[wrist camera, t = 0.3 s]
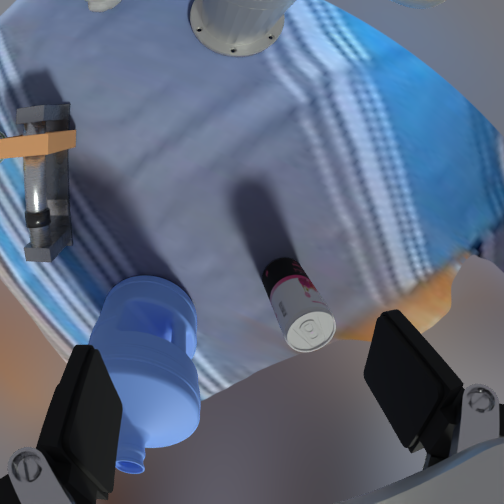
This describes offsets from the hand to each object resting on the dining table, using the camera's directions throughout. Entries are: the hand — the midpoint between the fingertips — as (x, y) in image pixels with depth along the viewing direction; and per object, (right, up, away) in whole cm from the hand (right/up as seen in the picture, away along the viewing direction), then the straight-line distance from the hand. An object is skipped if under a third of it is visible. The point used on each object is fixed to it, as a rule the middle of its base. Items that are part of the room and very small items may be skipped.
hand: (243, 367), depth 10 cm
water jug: (-16, -6, +40) cm, 43 cm away
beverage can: (+5, 0, +40) cm, 41 cm away
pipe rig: (-29, +15, +28) cm, 43 cm away
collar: (-28, +20, +26) cm, 43 cm away
